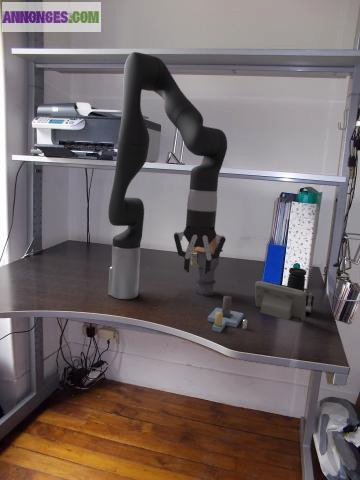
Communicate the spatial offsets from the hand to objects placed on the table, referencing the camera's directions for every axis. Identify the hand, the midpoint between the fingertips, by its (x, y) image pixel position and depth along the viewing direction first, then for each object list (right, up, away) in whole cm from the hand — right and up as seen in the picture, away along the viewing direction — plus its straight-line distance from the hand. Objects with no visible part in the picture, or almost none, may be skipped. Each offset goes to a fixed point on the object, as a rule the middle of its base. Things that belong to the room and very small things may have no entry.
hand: (196, 272), depth 98 cm
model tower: (+4, -12, +32) cm, 34 cm away
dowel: (+13, -16, +5) cm, 22 cm away
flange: (+8, -15, +8) cm, 19 cm away
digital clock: (+26, -16, +19) cm, 36 cm away
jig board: (+7, -16, +11) cm, 20 cm away
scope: (+34, -15, +25) cm, 45 cm away
